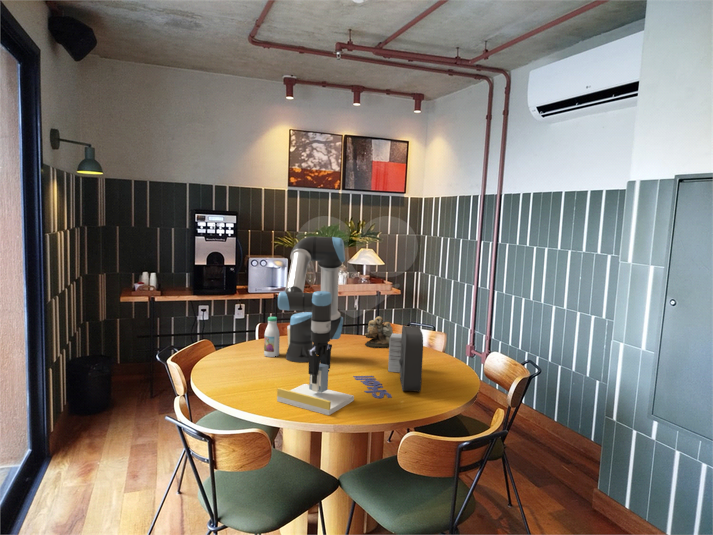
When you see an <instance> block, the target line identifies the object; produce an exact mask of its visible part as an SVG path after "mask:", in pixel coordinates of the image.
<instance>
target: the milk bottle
mask: <svg viewBox="0 0 713 535" xmlns="http://www.w3.org/2000/svg"><path fill="white" fill-rule="evenodd" d="M277 320H278V317H277V316H268V317H267V326H266V328H265V331H264V339H263V341H264V343H263V344H264V346H263V355H264V356H265V357H266V358H275V356H276V357H279V356H280V340H281V339H280V330H279V327H278V325H277V324H278V323H277Z"/></svg>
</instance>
